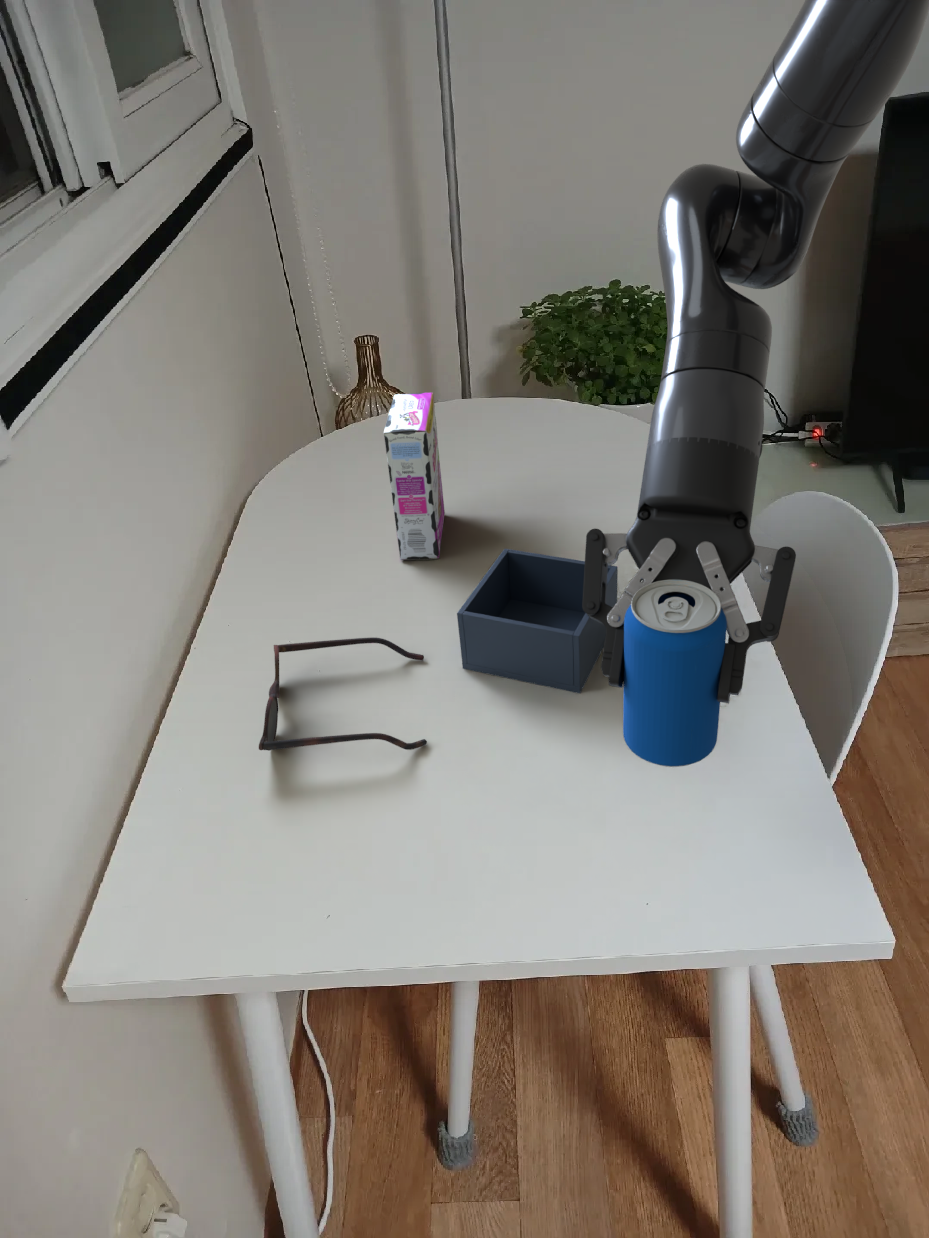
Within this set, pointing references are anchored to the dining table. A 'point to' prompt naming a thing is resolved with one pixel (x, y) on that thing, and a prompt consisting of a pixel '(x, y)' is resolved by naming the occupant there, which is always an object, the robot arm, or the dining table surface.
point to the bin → (533, 621)
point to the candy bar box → (415, 475)
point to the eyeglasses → (271, 729)
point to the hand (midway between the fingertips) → (668, 693)
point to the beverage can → (672, 672)
